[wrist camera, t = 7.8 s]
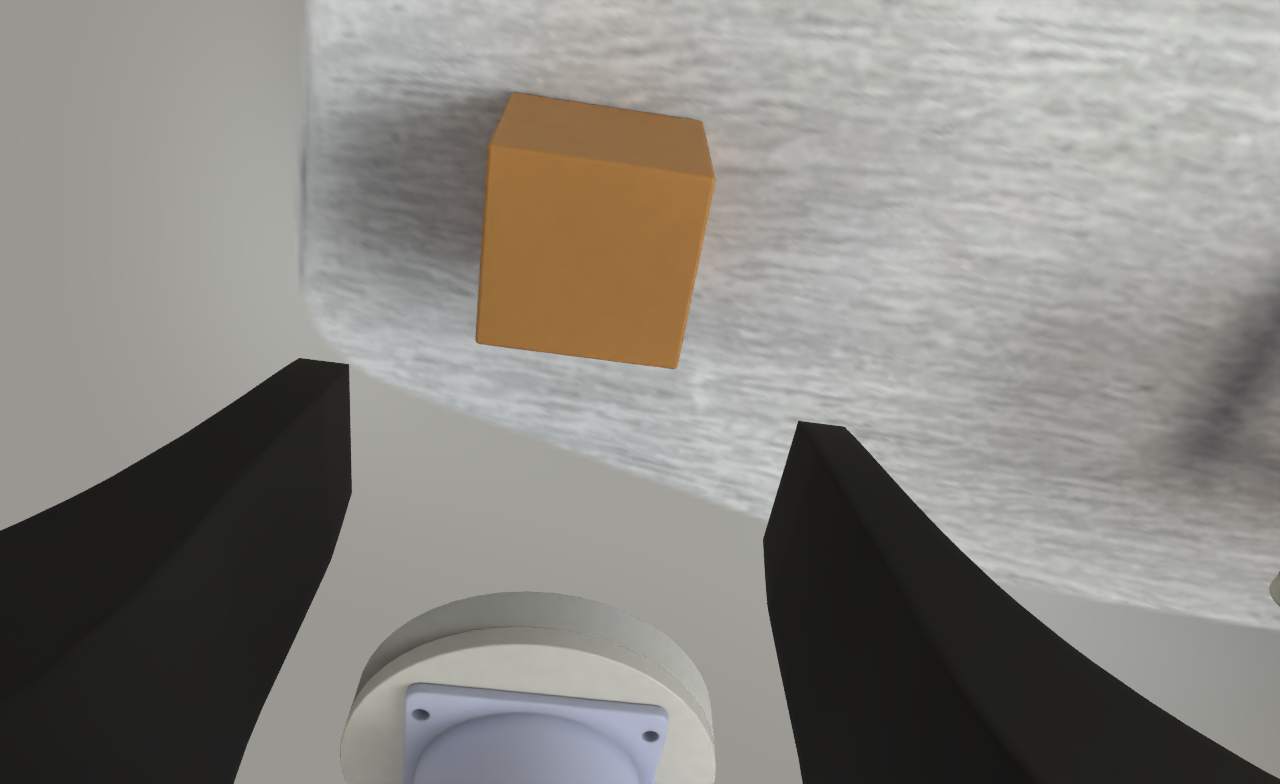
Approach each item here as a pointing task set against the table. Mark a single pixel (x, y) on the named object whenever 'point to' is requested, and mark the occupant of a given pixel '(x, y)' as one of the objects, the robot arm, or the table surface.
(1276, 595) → the drawer
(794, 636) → the robot arm
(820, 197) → the table surface
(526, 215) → the orange brown cube
